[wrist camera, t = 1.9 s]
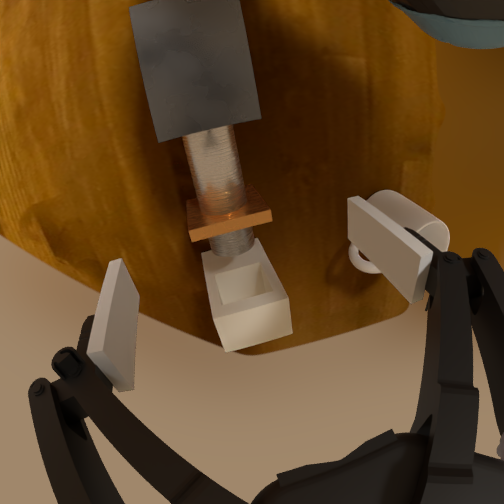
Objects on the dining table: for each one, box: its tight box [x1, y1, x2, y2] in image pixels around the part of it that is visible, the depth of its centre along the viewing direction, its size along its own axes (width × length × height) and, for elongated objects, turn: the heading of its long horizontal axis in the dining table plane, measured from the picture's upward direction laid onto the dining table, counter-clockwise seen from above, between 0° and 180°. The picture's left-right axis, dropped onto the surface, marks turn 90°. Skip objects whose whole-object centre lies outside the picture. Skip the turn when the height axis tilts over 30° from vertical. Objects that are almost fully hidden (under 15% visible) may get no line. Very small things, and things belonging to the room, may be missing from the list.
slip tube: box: [182, 124, 272, 257], centre depth 22 cm, size 20×6×6 cm, turn 10°
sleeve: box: [129, 0, 262, 143], centre depth 20 cm, size 10×7×11 cm
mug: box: [348, 190, 450, 274], centre depth 35 cm, size 12×8×10 cm
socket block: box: [201, 238, 293, 353], centre depth 32 cm, size 5×7×12 cm
